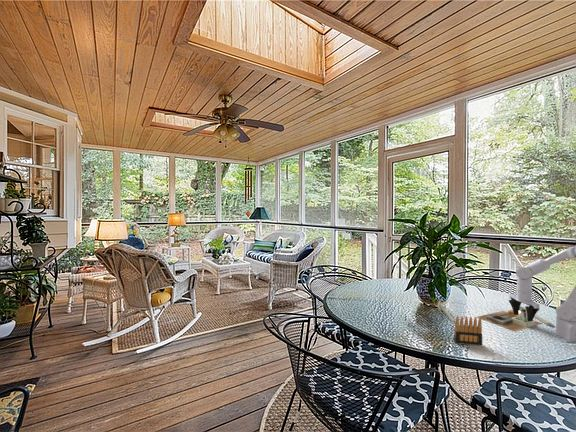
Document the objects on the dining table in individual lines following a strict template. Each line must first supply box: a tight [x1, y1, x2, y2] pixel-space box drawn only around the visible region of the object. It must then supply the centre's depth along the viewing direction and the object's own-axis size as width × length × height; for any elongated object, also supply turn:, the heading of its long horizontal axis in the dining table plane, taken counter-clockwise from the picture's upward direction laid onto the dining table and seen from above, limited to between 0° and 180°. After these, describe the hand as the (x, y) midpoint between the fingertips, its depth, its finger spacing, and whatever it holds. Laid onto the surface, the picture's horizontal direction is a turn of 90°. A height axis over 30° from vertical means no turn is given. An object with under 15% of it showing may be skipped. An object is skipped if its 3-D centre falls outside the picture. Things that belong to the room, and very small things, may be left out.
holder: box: [476, 310, 544, 333], centre depth 148 cm, size 18×23×3 cm
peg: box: [518, 308, 527, 323], centre depth 144 cm, size 4×4×7 cm
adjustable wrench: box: [520, 305, 554, 328], centre depth 155 cm, size 25×6×2 cm, turn 168°
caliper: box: [437, 299, 456, 325], centre depth 156 cm, size 20×1×6 cm, turn 173°
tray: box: [511, 316, 536, 328], centre depth 144 cm, size 7×7×2 cm
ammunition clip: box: [453, 315, 483, 346], centre depth 126 cm, size 11×2×12 cm, turn 77°
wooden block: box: [500, 309, 518, 320], centre depth 150 cm, size 3×10×3 cm, turn 113°
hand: (523, 317), depth 144 cm, fingers open, 7 cm apart
